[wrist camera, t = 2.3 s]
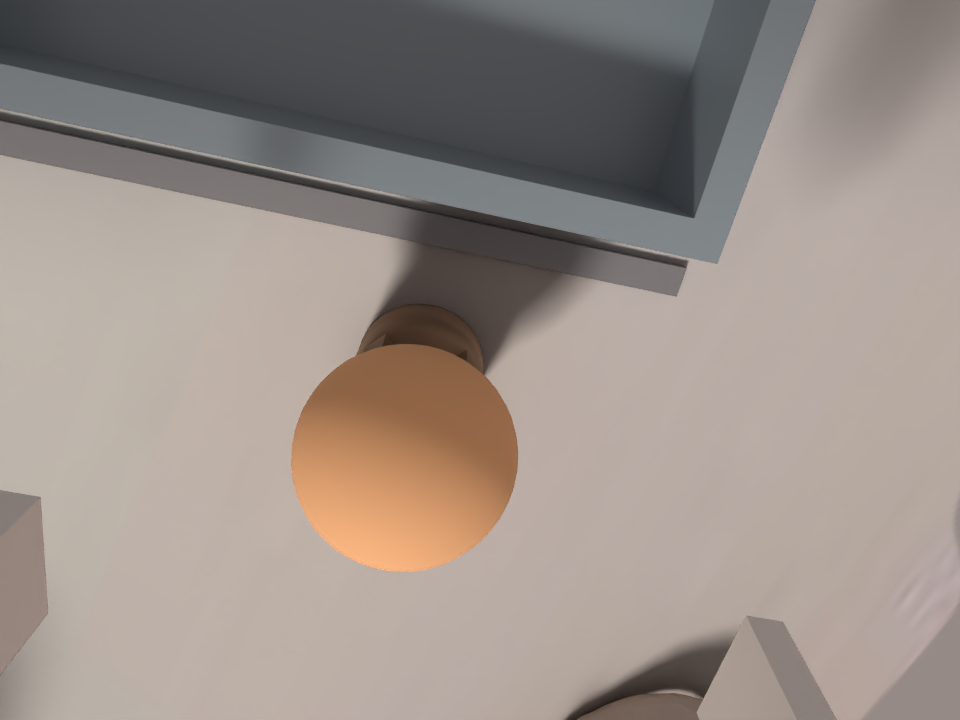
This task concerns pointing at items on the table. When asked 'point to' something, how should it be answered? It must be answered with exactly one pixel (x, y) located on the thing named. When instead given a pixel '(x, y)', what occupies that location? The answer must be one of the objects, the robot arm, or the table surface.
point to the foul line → (334, 208)
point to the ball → (404, 457)
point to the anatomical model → (648, 708)
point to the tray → (438, 97)
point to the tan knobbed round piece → (425, 332)
